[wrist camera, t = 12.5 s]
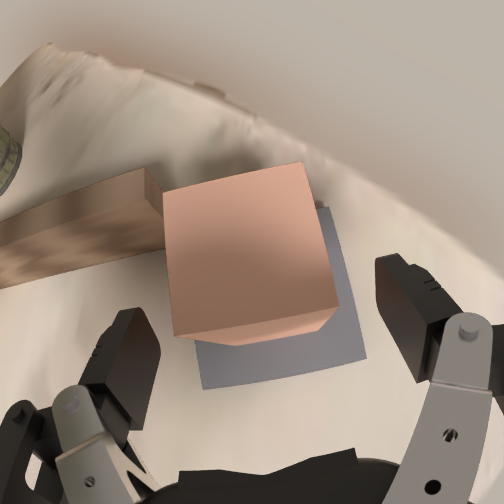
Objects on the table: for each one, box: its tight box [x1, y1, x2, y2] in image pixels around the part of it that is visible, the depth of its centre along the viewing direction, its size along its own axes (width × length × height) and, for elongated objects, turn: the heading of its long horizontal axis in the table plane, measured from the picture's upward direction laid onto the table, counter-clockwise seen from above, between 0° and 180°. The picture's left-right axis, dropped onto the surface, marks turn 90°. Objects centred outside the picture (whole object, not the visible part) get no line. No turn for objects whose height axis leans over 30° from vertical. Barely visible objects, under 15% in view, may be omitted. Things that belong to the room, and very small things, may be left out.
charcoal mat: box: [195, 207, 367, 390], centre depth 20 cm, size 10×10×1 cm
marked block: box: [163, 162, 339, 346], centre depth 15 cm, size 5×5×10 cm
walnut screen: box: [0, 167, 166, 289], centre depth 20 cm, size 22×2×7 cm, turn 100°
